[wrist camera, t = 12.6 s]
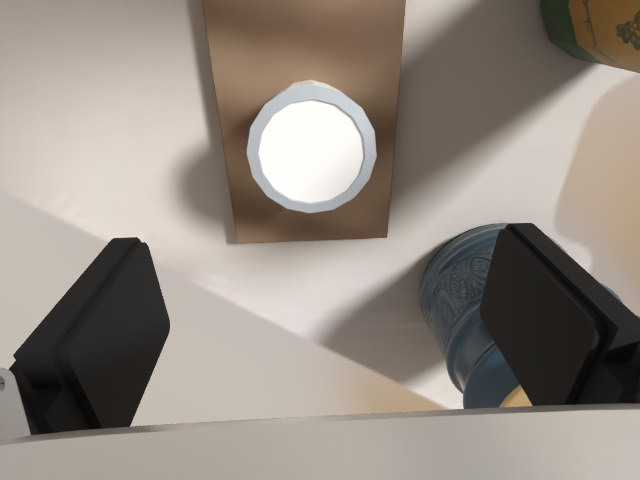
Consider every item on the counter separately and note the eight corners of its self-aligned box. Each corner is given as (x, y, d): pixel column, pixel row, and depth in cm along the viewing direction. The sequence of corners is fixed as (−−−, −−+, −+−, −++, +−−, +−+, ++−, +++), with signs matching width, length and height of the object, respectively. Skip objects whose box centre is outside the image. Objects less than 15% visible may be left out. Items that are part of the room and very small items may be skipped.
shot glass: (354, 173, 28) (370, 215, 22) (260, 171, 28) (249, 213, 22) (364, 71, 25) (385, 88, 19) (256, 67, 24) (242, 82, 18)
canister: (453, 352, 40) (548, 558, 25) (391, 270, 34) (464, 470, 19) (575, 292, 37) (774, 486, 21) (529, 190, 31) (752, 354, 16)
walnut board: (203, -30, 23) (197, -33, 22) (402, -33, 23) (408, -37, 22) (240, 234, 32) (237, 243, 30) (383, 228, 32) (387, 237, 31)
